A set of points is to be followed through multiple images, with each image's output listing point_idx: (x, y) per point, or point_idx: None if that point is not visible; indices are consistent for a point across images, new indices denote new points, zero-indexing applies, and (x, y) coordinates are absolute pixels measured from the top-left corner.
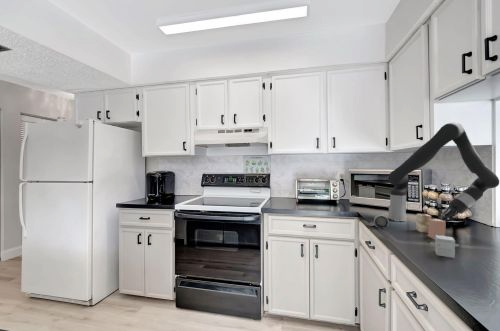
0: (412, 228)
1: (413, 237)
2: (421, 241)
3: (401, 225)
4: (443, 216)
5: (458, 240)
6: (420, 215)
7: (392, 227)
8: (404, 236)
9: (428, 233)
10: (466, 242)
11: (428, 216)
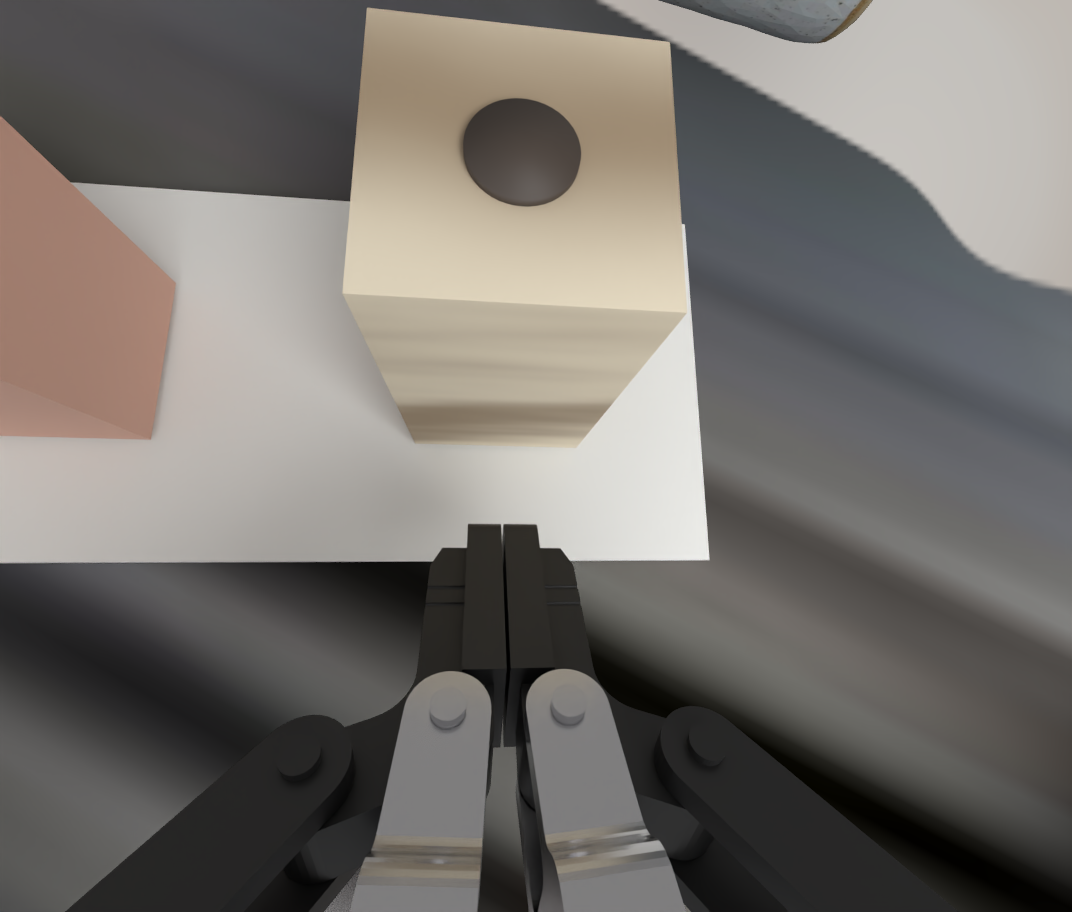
0: (805, 386)
1: (274, 157)
2: (78, 161)
3: (943, 309)
4: (412, 802)
5: (181, 777)
6: (411, 18)
7: (770, 134)
8: (309, 71)
9: (143, 255)
10: (62, 859)
11: (354, 217)
